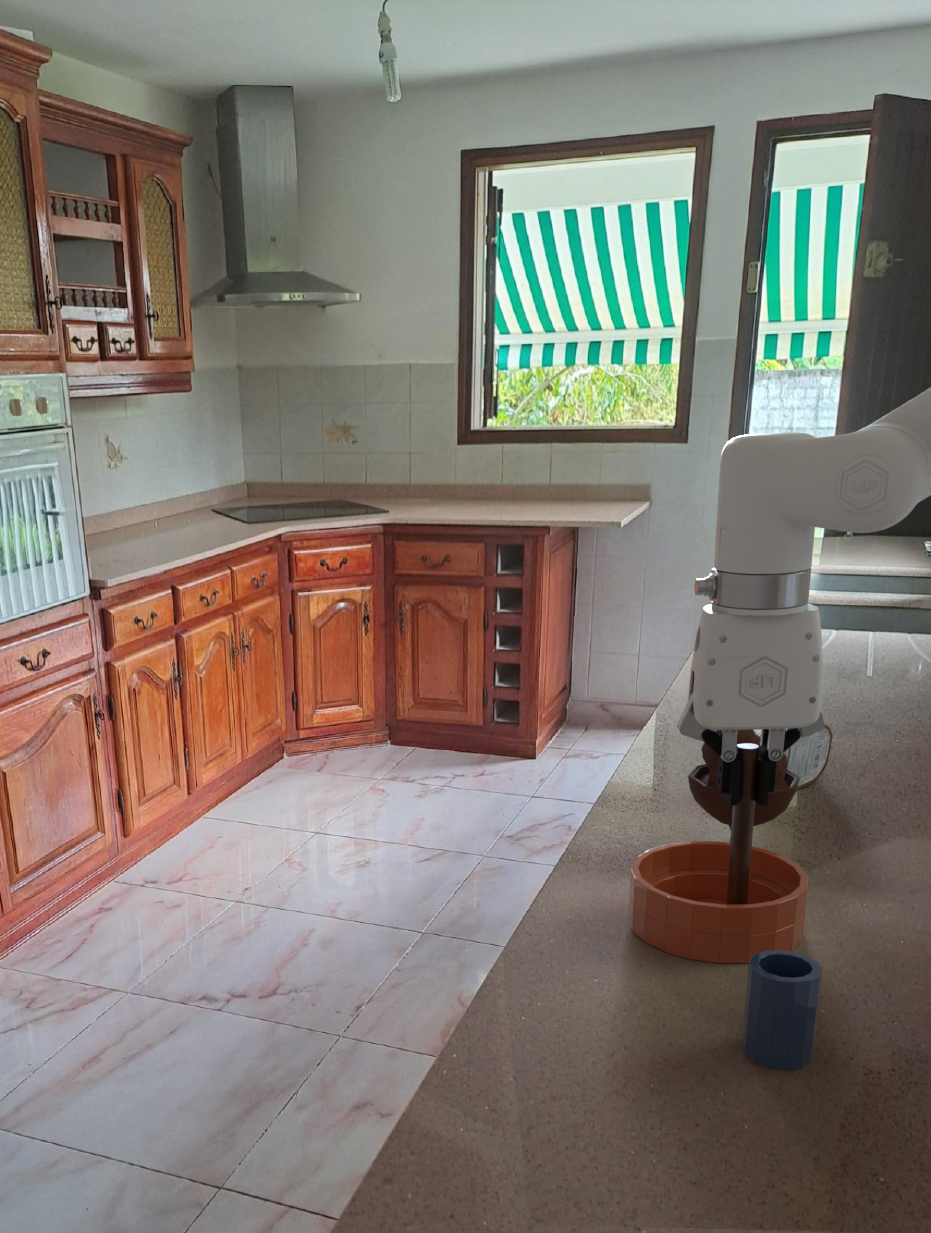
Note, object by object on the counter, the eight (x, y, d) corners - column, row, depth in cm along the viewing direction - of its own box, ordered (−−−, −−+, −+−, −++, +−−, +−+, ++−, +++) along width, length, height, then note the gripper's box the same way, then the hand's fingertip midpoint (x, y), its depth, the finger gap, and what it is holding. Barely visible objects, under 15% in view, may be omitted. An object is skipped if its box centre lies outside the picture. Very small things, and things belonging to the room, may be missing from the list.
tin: (810, 773, 149) (816, 710, 146) (833, 779, 146) (840, 714, 143) (739, 801, 141) (744, 735, 138) (761, 808, 138) (767, 740, 135)
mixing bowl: (776, 896, 115) (781, 840, 113) (823, 969, 101) (830, 907, 99) (618, 897, 117) (620, 842, 115) (643, 969, 103) (646, 908, 101)
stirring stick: (742, 929, 107) (756, 742, 101) (746, 937, 106) (761, 748, 99) (722, 929, 107) (735, 743, 101) (726, 937, 106) (740, 749, 100)
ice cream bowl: (761, 889, 117) (774, 747, 112) (663, 861, 125) (671, 727, 120) (811, 858, 124) (825, 722, 118) (715, 833, 131) (724, 705, 126)
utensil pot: (800, 1041, 91) (810, 949, 88) (820, 1077, 86) (831, 982, 83) (734, 1040, 91) (742, 949, 89) (750, 1076, 87) (759, 982, 84)
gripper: (670, 602, 93) (660, 817, 99) (876, 594, 91) (852, 813, 98) (654, 586, 100) (645, 788, 106) (845, 579, 98) (824, 784, 105)
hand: (744, 798), depth 102 cm, fingers closed on stirring stick, 1 cm apart
